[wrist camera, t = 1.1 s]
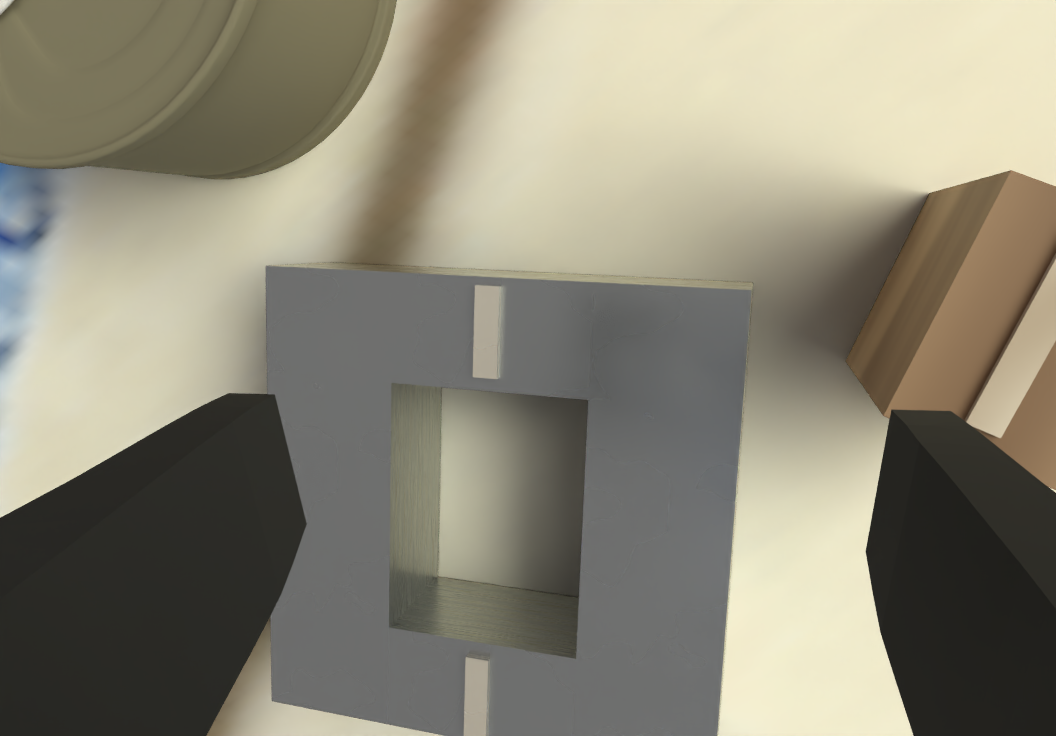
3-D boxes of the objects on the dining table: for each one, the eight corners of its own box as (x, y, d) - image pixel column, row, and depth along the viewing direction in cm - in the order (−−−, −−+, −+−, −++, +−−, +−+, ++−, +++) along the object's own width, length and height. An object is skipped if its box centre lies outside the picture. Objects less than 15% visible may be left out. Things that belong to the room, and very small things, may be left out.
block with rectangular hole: (753, 282, 22) (751, 290, 18) (720, 711, 24) (712, 794, 20) (332, 262, 25) (261, 266, 21) (333, 643, 27) (267, 704, 23)
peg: (1055, 240, 20) (1208, 240, 13) (962, 410, 21) (1059, 492, 14) (929, 193, 20) (1013, 169, 14) (845, 361, 21) (884, 417, 15)
